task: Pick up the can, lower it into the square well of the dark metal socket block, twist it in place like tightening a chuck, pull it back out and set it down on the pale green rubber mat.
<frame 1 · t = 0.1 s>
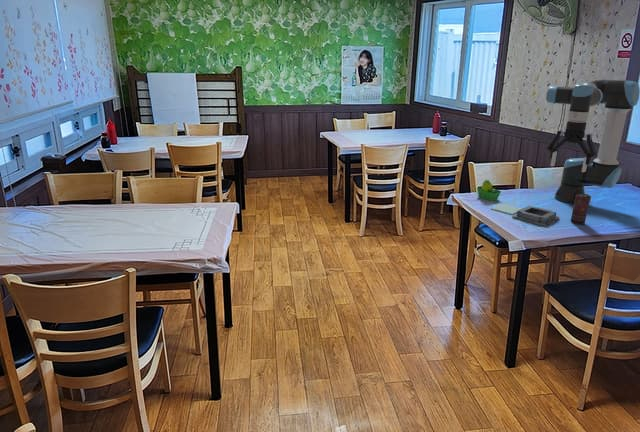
hand: (567, 168, 206), 28 cm above the table, fingers open, 13 cm apart
mat: (506, 209, 237), on the table
socket block: (535, 218, 225), on the table
can: (577, 222, 220), on the table
fruit basket: (487, 198, 256), on the table
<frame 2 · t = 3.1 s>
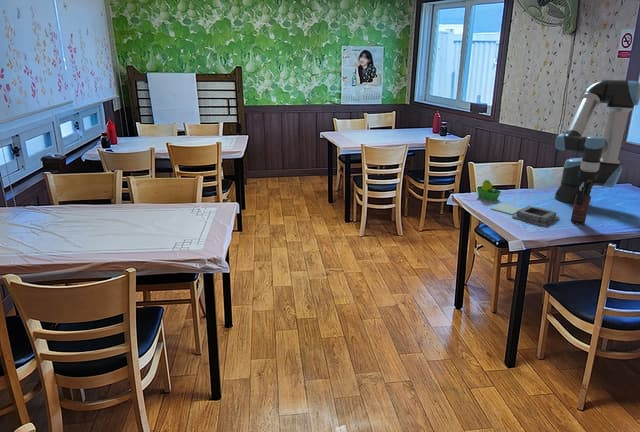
hand: (578, 217, 219), 2 cm above the table, fingers closed
can: (577, 222, 220), on the table, touching hand
everything else where it was.
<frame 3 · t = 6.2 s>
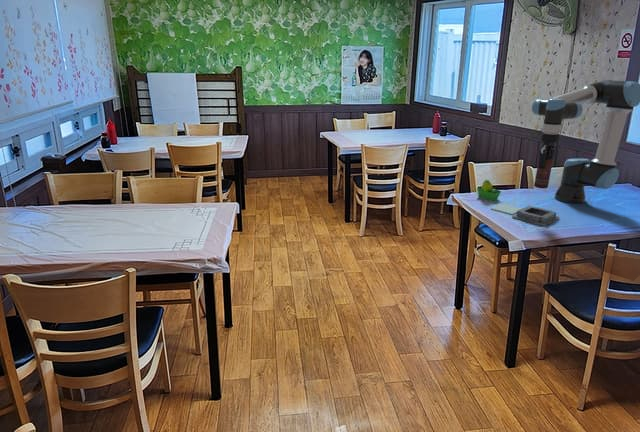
hand: (542, 182, 219), 19 cm above the table, fingers closed
can: (541, 187, 219), point 16 cm above the table, touching hand
everything else where it was.
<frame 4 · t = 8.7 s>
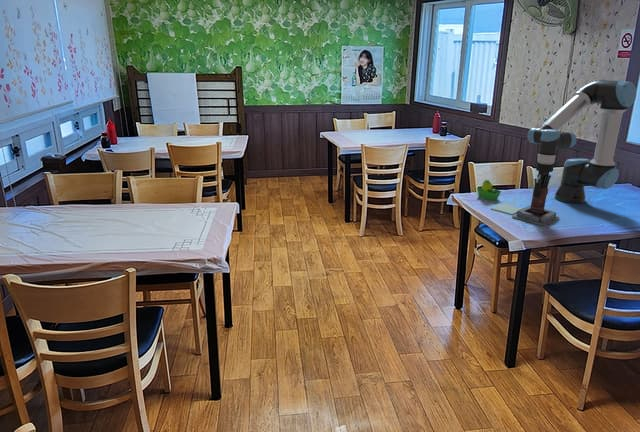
hand: (537, 209, 223), 5 cm above the table, fingers closed
can: (536, 214, 224), point 2 cm above the table, touching hand
everything else where it was.
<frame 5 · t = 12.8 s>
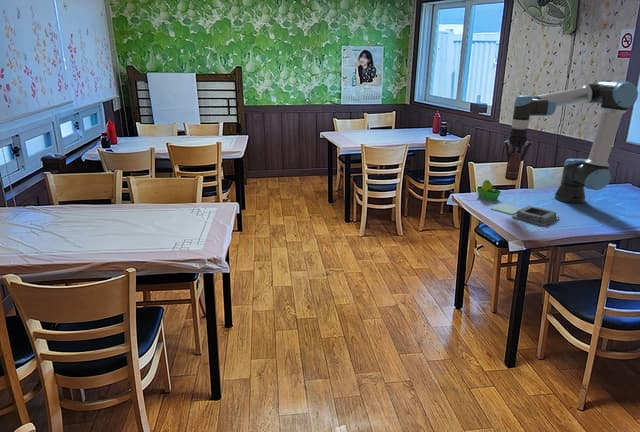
hand: (512, 174, 231), 19 cm above the table, fingers closed
can: (511, 179, 232), point 16 cm above the table, touching hand
everything else where it was.
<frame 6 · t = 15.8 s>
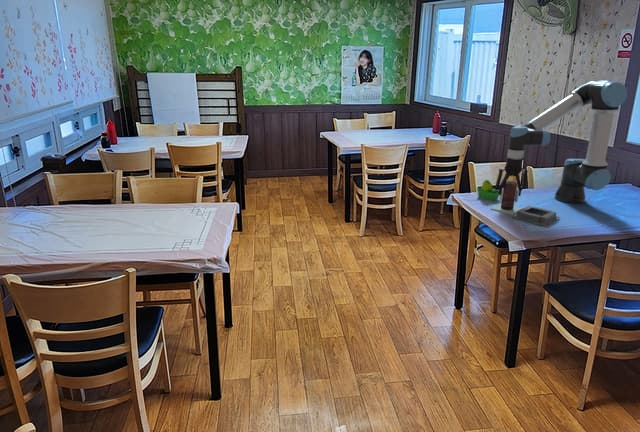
hand: (508, 201, 236), 5 cm above the table, fingers open, 7 cm apart
can: (507, 208, 237), resting on mat
everything else where it was.
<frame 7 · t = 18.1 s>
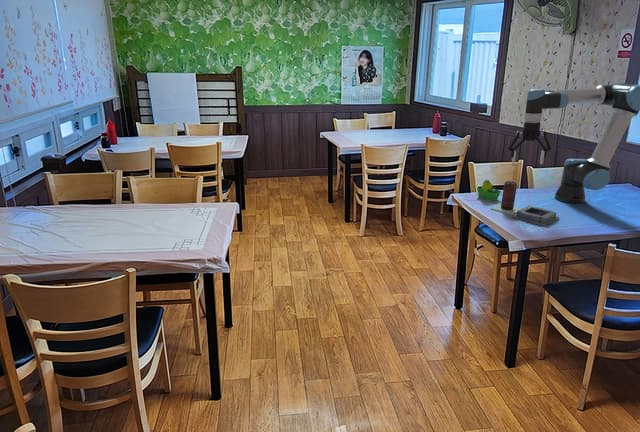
hand: (527, 163, 231), 24 cm above the table, fingers open, 13 cm apart
nothing on the table moved.
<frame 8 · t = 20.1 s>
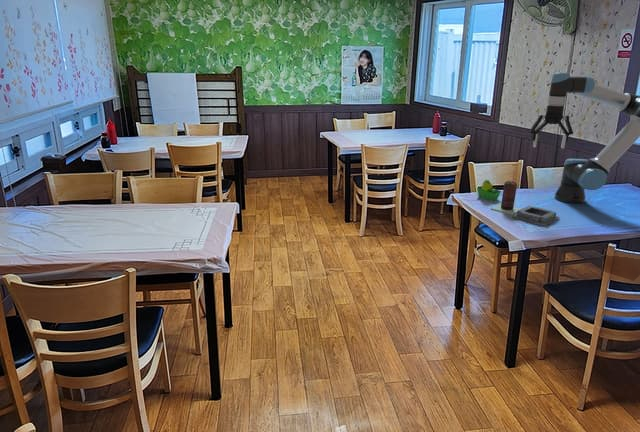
hand: (548, 147, 232), 32 cm above the table, fingers open, 13 cm apart
nothing on the table moved.
at the end: can inside the target area on the mat (0.0 cm from its centre), point 0.4 cm above the mat's base; can tilted 0°; can touching mat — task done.
